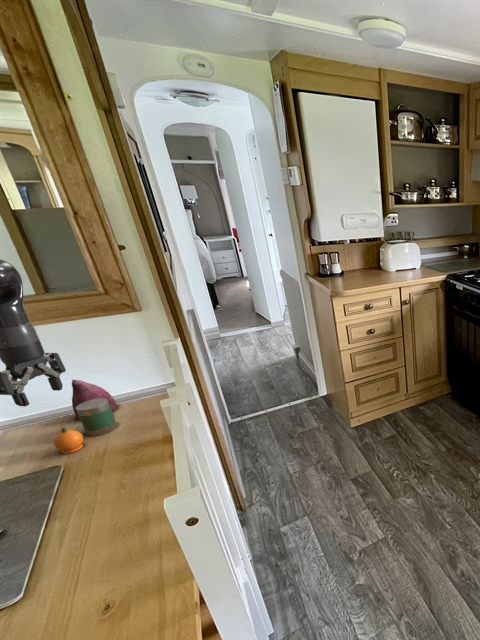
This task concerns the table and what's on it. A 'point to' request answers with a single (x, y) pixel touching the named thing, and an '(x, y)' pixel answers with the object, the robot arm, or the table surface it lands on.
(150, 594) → the table surface
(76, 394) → the vegetable
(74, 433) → the pumpkin
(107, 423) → the tin
